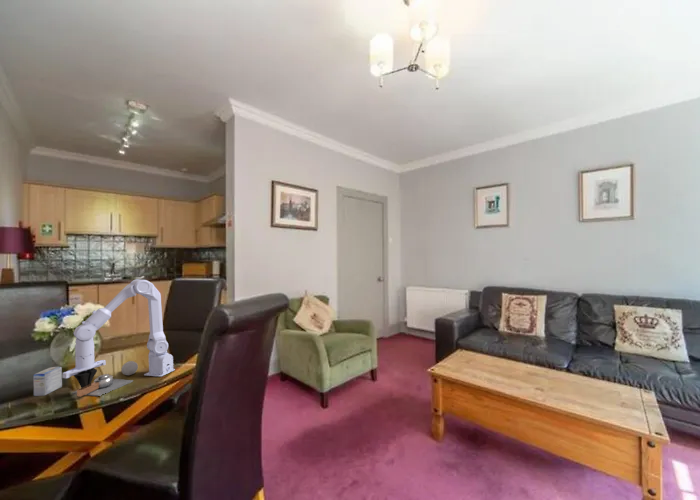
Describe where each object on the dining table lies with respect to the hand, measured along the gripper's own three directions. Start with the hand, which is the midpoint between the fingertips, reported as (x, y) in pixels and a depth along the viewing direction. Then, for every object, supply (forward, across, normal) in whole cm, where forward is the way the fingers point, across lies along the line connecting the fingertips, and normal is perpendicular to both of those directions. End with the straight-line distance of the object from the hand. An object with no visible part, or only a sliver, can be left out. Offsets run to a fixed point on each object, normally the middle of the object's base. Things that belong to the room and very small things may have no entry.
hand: (85, 389), depth 122 cm
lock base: (+2, -6, +2) cm, 6 cm away
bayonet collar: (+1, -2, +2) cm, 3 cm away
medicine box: (+2, +1, -18) cm, 18 cm away
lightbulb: (0, -23, -7) cm, 24 cm away
